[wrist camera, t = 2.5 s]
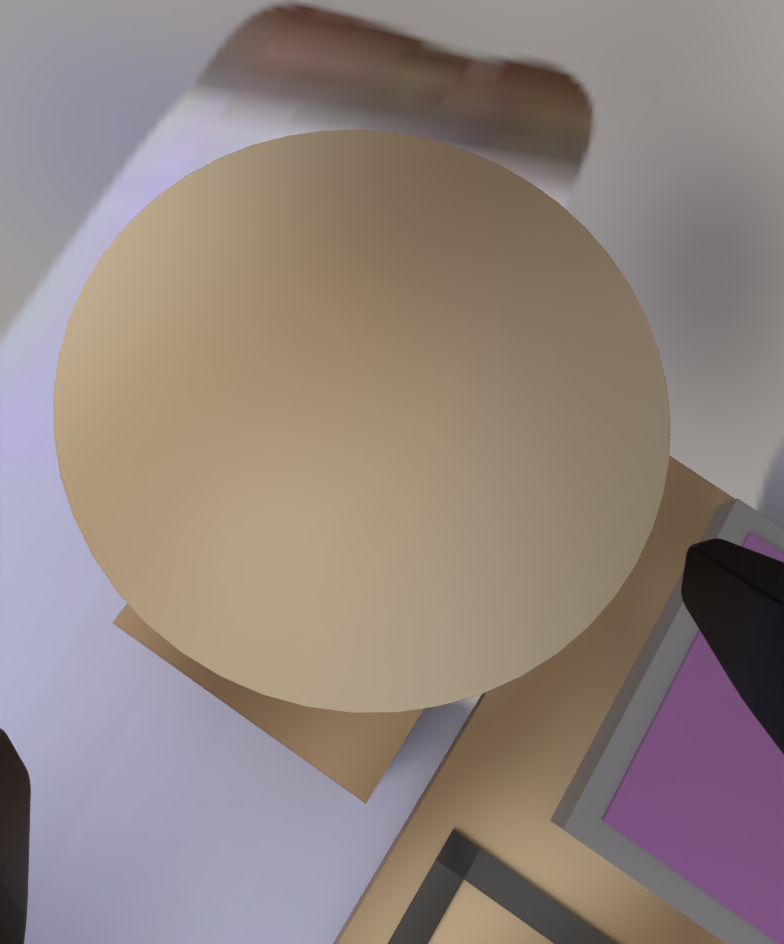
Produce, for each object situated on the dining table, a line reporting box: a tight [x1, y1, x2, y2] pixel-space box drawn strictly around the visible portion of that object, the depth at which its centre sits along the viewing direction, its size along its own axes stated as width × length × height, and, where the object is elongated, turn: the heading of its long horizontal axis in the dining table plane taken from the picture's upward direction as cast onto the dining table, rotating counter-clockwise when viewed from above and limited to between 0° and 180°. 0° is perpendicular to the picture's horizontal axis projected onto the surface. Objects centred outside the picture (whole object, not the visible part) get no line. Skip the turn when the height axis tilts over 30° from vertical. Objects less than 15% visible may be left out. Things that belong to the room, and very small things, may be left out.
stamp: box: [53, 130, 670, 803], centre depth 12 cm, size 7×7×15 cm
